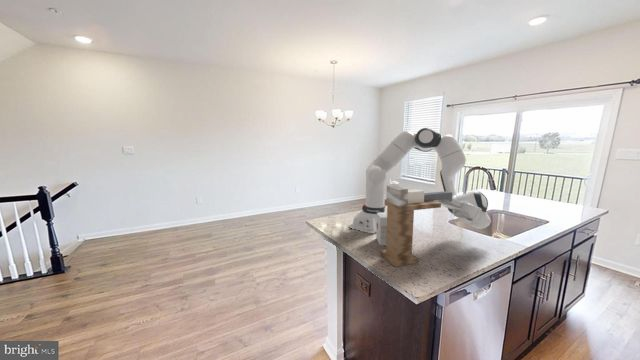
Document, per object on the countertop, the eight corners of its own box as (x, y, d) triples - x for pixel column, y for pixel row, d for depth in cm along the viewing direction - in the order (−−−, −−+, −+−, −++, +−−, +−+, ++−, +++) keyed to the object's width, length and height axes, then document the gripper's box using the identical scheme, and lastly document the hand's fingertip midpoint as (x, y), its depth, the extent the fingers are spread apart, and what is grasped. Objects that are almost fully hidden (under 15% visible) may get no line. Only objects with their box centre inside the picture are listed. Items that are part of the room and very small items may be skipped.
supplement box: (375, 238, 133) (376, 212, 130) (392, 238, 133) (393, 212, 130) (379, 245, 124) (380, 217, 122) (397, 245, 124) (398, 217, 121)
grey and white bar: (445, 196, 115) (446, 186, 115) (453, 199, 111) (454, 188, 110) (401, 200, 109) (401, 190, 108) (407, 203, 104) (408, 192, 104)
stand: (419, 248, 120) (423, 182, 115) (437, 259, 109) (442, 187, 104) (379, 254, 114) (381, 185, 109) (394, 266, 103) (396, 190, 98)
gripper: (449, 199, 126) (430, 187, 122) (485, 210, 107) (464, 196, 102) (443, 210, 126) (424, 198, 122) (478, 222, 107) (457, 209, 103)
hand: (443, 197), depth 112 cm, fingers open, 8 cm apart
